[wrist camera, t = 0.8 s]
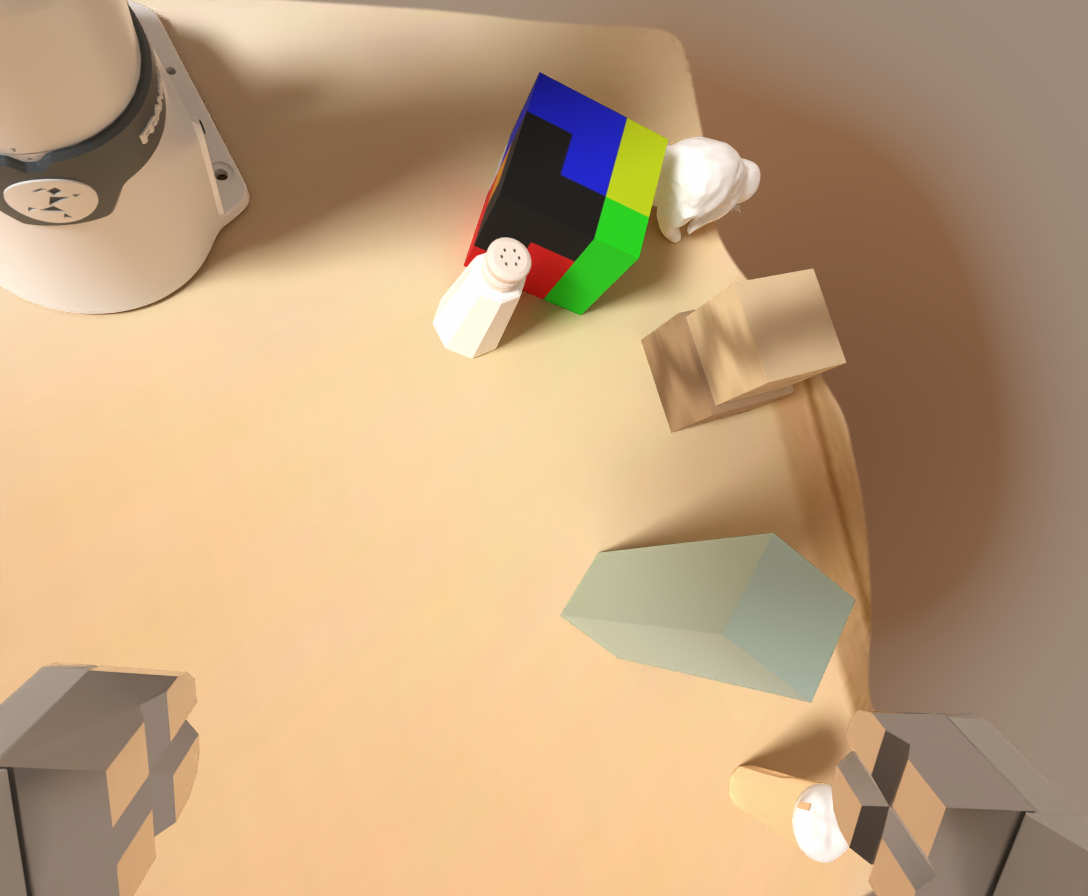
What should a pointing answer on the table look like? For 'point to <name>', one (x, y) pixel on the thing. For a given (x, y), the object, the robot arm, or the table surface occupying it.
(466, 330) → the pepper shaker
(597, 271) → the puzzle toy
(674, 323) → the tower bottom
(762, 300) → the tower top
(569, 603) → the pillar
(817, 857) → the milkshake
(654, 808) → the table surface
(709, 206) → the white animal figurine
